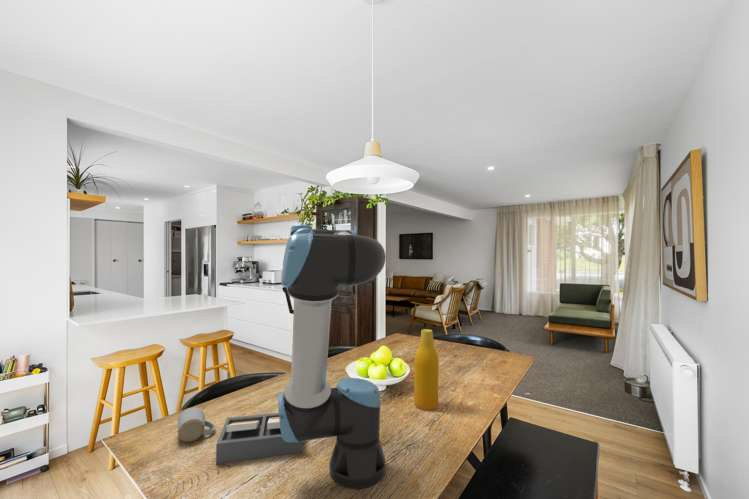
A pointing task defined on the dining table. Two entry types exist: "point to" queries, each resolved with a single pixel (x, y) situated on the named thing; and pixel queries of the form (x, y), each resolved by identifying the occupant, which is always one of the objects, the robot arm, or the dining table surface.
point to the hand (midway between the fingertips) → (299, 332)
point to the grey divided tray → (254, 440)
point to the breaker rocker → (243, 426)
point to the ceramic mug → (193, 425)
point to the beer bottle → (426, 373)
